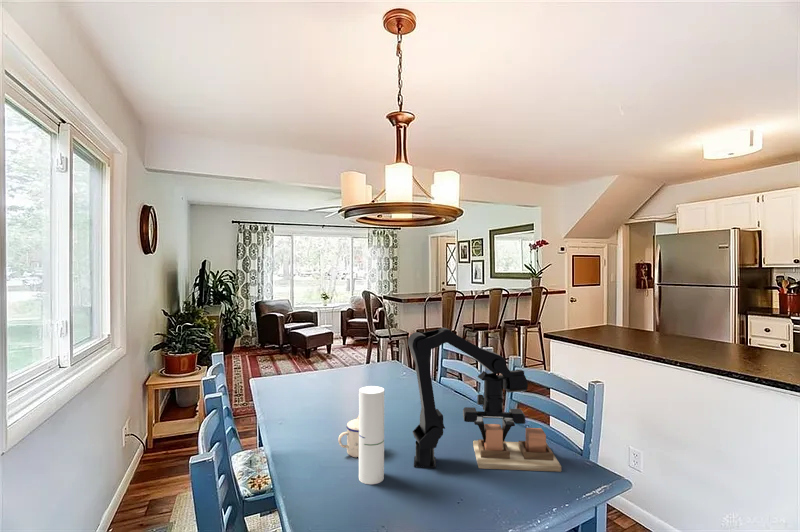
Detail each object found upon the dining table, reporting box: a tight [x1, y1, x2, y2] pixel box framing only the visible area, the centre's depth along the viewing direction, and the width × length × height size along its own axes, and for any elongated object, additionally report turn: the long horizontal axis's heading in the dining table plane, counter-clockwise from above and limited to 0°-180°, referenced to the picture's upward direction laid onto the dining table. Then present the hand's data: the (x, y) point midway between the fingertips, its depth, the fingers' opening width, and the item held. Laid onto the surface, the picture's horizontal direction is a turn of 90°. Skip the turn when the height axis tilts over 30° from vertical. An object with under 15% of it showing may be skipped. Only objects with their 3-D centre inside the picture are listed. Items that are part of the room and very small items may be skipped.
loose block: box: [484, 423, 503, 451], centre depth 131 cm, size 5×5×7 cm
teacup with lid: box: [337, 415, 359, 459], centre depth 133 cm, size 12×9×12 cm
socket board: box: [472, 427, 562, 473], centre depth 131 cm, size 16×24×8 cm, turn 86°
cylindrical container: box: [358, 385, 385, 485], centre depth 118 cm, size 7×7×25 cm
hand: (493, 442), depth 131 cm, fingers open, 5 cm apart
